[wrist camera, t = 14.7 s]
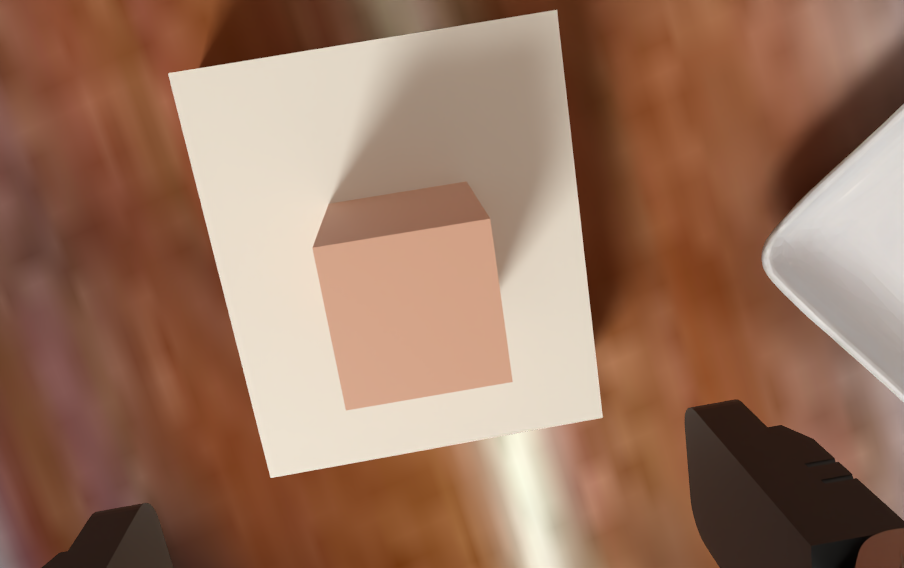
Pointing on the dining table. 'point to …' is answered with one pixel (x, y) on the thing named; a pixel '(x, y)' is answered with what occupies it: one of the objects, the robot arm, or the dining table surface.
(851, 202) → the salad plate
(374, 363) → the light pinkish-tan block
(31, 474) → the dining table surface
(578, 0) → the dining table surface
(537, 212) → the plinth
